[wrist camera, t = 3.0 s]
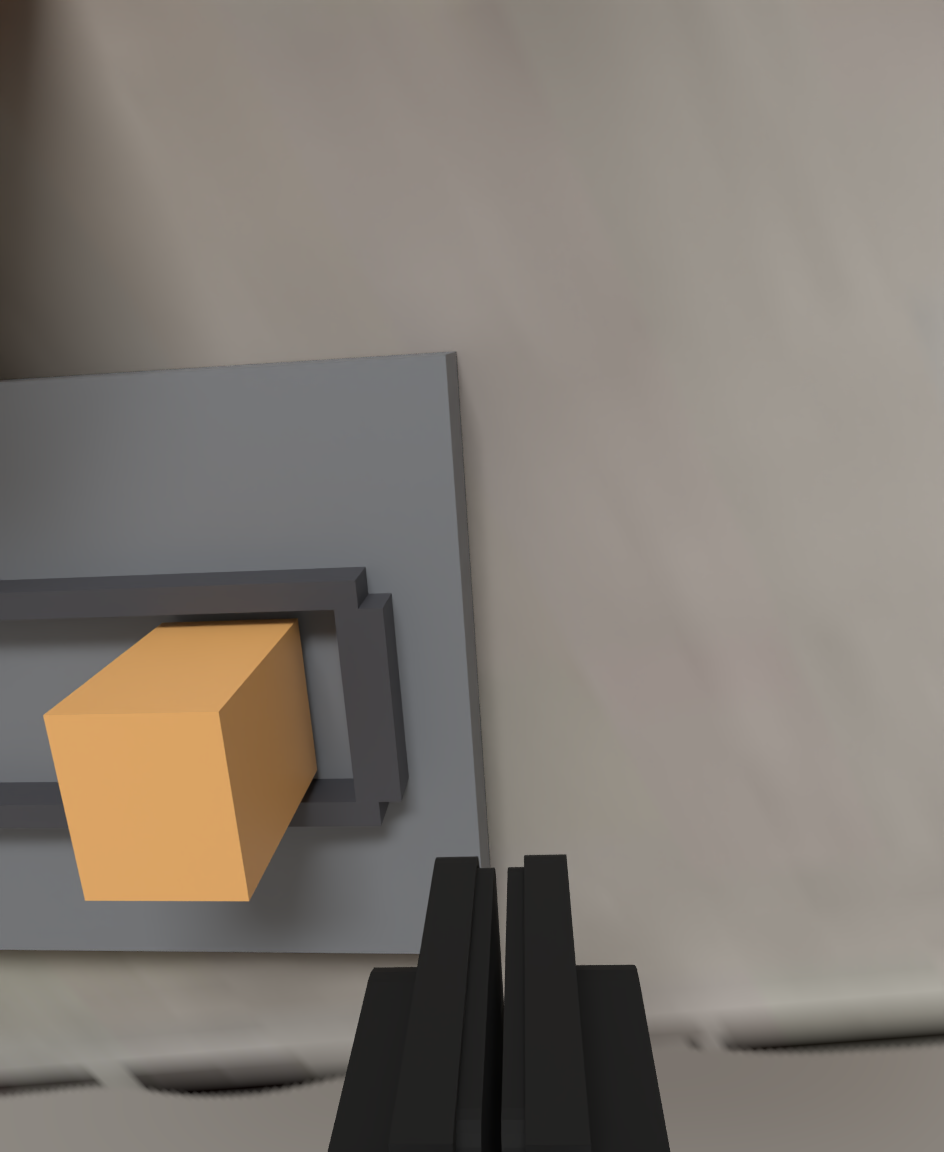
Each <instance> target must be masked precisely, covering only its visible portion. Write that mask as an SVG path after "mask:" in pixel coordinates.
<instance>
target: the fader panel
mask: <svg viewBox="0 0 944 1152" xmlns="http://www.w3.org/2000/svg"><path fill="white" fill-rule="evenodd" d="M294 618H298V624H299V631H300V639H301V647H302V655H303V662H304V670H305V678H306V686H307V694H308V701H309V709H310V717H311V725H312V733H313V740H314V748H315V756H316V764H317V771H316V773H315V775H314V777H313V779H312V781H311V783H310V785H309V787H308V789H307V791H306V793H305V795H304V796H303V798H302V800H301V802H300V804H299V806H298V808H297V810H296V812H295V814H294V816H293V818H292V820H291V822H290V824H289V825H288V827H287V829H286V831H285V833H284V835H283V837H282V839H281V841H280V843H279V845H278V847H277V849H276V851H275V852H274V854H273V856H272V858H271V860H270V862H269V864H268V866H267V868H266V870H265V872H264V874H263V876H262V878H261V880H260V881H259V883H258V885H257V887H256V889H255V891H254V893H253V895H252V897H251V899H250V901H85V898H84V894H83V889H82V885H81V880H80V876H79V872H78V867H77V863H76V858H75V854H74V849H73V845H72V841H71V836H70V832H69V827H68V823H67V819H66V814H65V810H64V805H63V801H62V797H61V792H60V788H59V783H58V779H57V774H56V770H55V766H54V761H53V757H52V752H51V748H50V744H49V739H48V735H47V730H46V726H45V721H44V717H43V715H44V714H45V713H47V712H48V711H49V710H51V709H52V708H53V707H54V706H56V705H57V704H58V703H60V702H61V701H62V700H63V699H65V698H66V697H67V696H69V695H70V694H71V693H72V692H74V691H75V690H76V689H78V688H79V687H80V686H81V685H83V684H84V683H85V682H87V681H88V680H89V679H90V678H92V677H93V676H94V675H96V674H97V673H98V672H100V671H101V670H102V669H103V668H105V667H106V666H107V665H109V664H110V663H111V662H112V661H114V660H115V659H116V658H118V657H119V656H120V655H121V654H123V653H124V652H125V651H127V650H128V649H129V648H130V647H132V646H133V645H134V644H136V643H137V642H138V641H139V640H141V639H142V638H143V637H145V636H146V635H147V634H148V633H150V632H151V631H152V630H154V629H155V628H156V627H157V626H159V625H160V624H161V623H166V622H198V621H230V620H262V619H294ZM469 856H478V858H479V865H480V868H490V856H489V841H488V826H487V810H486V795H485V780H484V765H483V750H482V735H481V720H480V704H479V689H478V674H477V659H476V644H475V629H474V614H473V598H472V583H471V568H470V553H469V538H468V523H467V508H466V492H465V477H464V462H463V447H462V432H461V417H460V402H459V386H458V371H457V356H456V352H440V353H424V354H408V355H393V356H377V357H361V358H345V359H329V360H313V361H297V362H281V363H266V364H250V365H234V366H218V367H202V368H186V369H170V370H154V371H139V372H123V373H107V374H91V375H75V376H59V377H43V378H27V379H11V380H0V950H85V951H185V952H285V953H386V954H420V948H421V942H422V936H423V930H424V924H425V918H426V911H427V905H428V899H429V893H430V887H431V881H432V875H433V869H434V863H435V859H436V857H469Z"/></svg>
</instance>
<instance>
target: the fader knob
mask: <svg viewBox="0 0 944 1152" xmlns="http://www.w3.org/2000/svg"><path fill="white" fill-rule="evenodd" d="M43 717H44V721H45V726H46V730H47V735H48V739H49V744H50V748H51V752H52V757H53V761H54V766H55V770H56V774H57V779H58V783H59V788H60V792H61V797H62V801H63V805H64V810H65V814H66V819H67V823H68V827H69V832H70V836H71V841H72V845H73V849H74V854H75V858H76V863H77V867H78V872H79V876H80V880H81V885H82V889H83V894H84V898H85V901H250V899H251V897H252V895H253V893H254V891H255V889H256V887H257V885H258V883H259V881H260V880H261V878H262V876H263V874H264V872H265V870H266V868H267V866H268V864H269V862H270V860H271V858H272V856H273V854H274V852H275V851H276V849H277V847H278V845H279V843H280V841H281V839H282V837H283V835H284V833H285V831H286V829H287V827H288V825H289V824H290V822H291V820H292V818H293V816H294V814H295V812H296V810H297V808H298V806H299V804H300V802H301V800H302V798H303V796H304V795H305V793H306V791H307V789H308V787H309V785H310V783H311V781H312V779H313V777H314V775H315V773H316V771H317V764H316V756H315V748H314V740H313V733H312V725H311V717H310V709H309V701H308V694H307V686H306V678H305V670H304V662H303V655H302V647H301V639H300V631H299V624H298V618H294V619H262V620H230V621H198V622H166V623H161V624H160V625H159V626H157V627H156V628H155V629H154V630H152V631H151V632H150V633H148V634H147V635H146V636H145V637H143V638H142V639H141V640H139V641H138V642H137V643H136V644H134V645H133V646H132V647H130V648H129V649H128V650H127V651H125V652H124V653H123V654H121V655H120V656H119V657H118V658H116V659H115V660H114V661H112V662H111V663H110V664H109V665H107V666H106V667H105V668H103V669H102V670H101V671H100V672H98V673H97V674H96V675H94V676H93V677H92V678H90V679H89V680H88V681H87V682H85V683H84V684H83V685H81V686H80V687H79V688H78V689H76V690H75V691H74V692H72V693H71V694H70V695H69V696H67V697H66V698H65V699H63V700H62V701H61V702H60V703H58V704H57V705H56V706H54V707H53V708H52V709H51V710H49V711H48V712H47V713H45V714H44V715H43Z"/></svg>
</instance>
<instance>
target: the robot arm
mask: <svg viewBox="0 0 944 1152" xmlns="http://www.w3.org/2000/svg"><path fill="white" fill-rule="evenodd" d="M328 1152H670V1148H669V1142H668V1137H667V1131H666V1126H665V1120H664V1114H663V1109H662V1103H661V1098H660V1092H659V1087H658V1082H657V1076H656V1071H655V1065H654V1060H653V1054H652V1048H651V1043H650V1037H649V1032H648V1026H647V1021H646V1015H645V1009H644V1004H643V998H642V993H641V987H640V982H639V977H638V972H637V968H636V966H635V965H576V963H575V951H574V939H573V927H572V916H571V904H570V892H569V880H568V869H567V857H566V855H524V867H509V868H508V880H507V918H506V957H505V995H504V998H503V982H502V966H501V951H500V935H499V919H498V903H497V887H496V873H495V868H480V865H479V858H478V856H469V857H436V859H435V863H434V869H433V875H432V881H431V887H430V893H429V899H428V905H427V911H426V918H425V924H424V930H423V936H422V942H421V948H420V954H419V960H418V966H417V967H394V968H374V969H373V970H372V971H371V974H370V977H369V980H368V984H367V988H366V992H365V996H364V1001H363V1005H362V1009H361V1013H360V1017H359V1022H358V1026H357V1030H356V1034H355V1039H354V1043H353V1047H352V1051H351V1055H350V1060H349V1064H348V1068H347V1072H346V1077H345V1081H344V1085H343V1089H342V1094H341V1098H340V1102H339V1106H338V1111H337V1115H336V1120H335V1123H334V1128H333V1132H332V1136H331V1141H330V1144H329V1148H328Z"/></svg>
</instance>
